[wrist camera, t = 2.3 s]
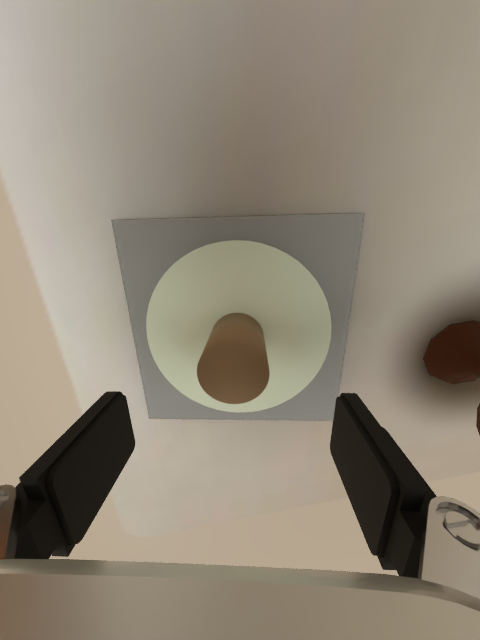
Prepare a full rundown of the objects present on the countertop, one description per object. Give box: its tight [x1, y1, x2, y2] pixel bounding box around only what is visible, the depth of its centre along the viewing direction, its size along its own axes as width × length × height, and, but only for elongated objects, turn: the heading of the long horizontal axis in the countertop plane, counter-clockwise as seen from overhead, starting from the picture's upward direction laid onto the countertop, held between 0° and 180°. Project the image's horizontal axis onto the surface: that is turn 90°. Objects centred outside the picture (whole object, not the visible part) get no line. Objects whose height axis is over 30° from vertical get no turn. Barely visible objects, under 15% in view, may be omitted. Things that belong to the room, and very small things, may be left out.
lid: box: [146, 240, 332, 413], centre depth 15 cm, size 14×14×6 cm
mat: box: [111, 213, 365, 421], centre depth 18 cm, size 17×17×1 cm
